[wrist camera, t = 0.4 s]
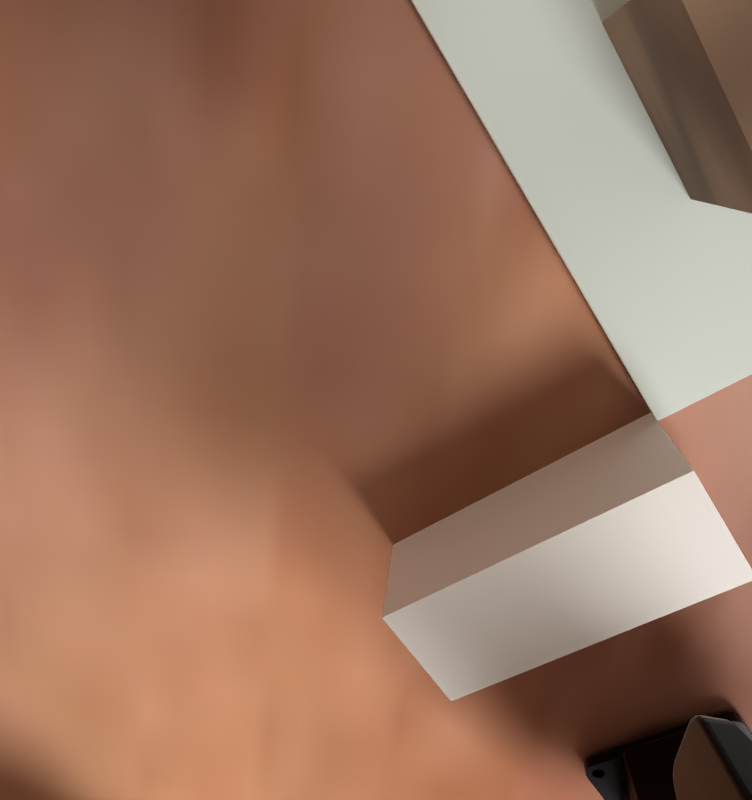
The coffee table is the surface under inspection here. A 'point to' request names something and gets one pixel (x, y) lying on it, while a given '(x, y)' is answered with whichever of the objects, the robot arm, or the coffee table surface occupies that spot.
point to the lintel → (560, 561)
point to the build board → (607, 190)
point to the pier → (694, 88)
